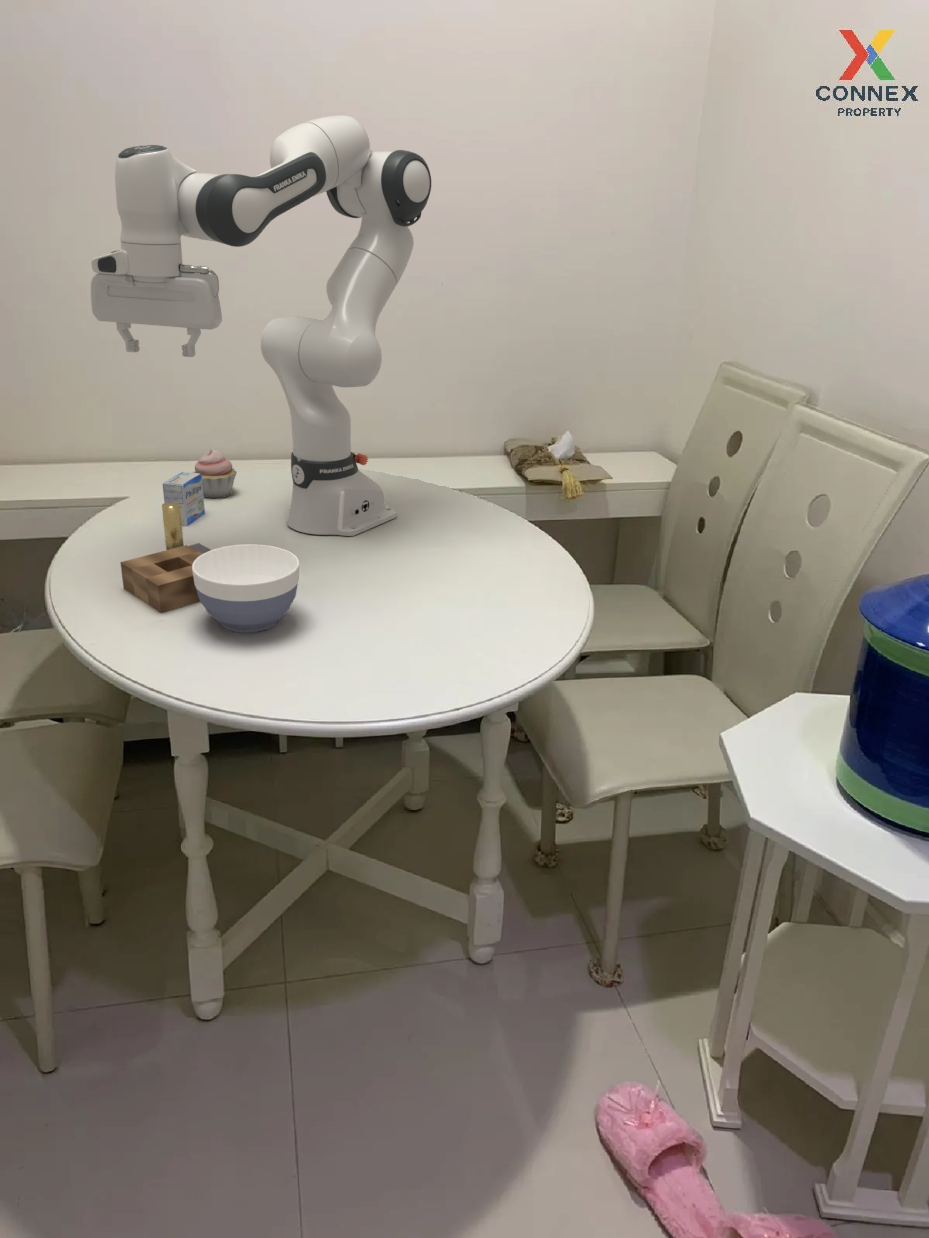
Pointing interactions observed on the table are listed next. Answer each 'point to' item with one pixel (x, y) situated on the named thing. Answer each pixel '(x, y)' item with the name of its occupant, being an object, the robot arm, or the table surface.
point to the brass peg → (172, 525)
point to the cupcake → (215, 474)
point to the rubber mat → (200, 548)
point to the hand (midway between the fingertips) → (161, 354)
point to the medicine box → (186, 495)
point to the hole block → (162, 578)
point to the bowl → (246, 585)
